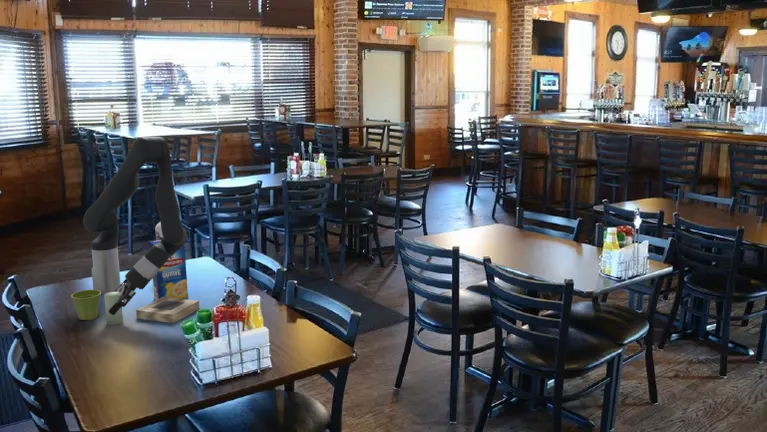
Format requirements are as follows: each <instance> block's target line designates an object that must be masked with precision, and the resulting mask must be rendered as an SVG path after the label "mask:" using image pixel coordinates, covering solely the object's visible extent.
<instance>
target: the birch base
mask: <svg viewBox="0 0 767 432" xmlns="http://www.w3.org/2000/svg"><path fill="white" fill-rule="evenodd" d="M198 310H200V301H199V300H194V299H187V298H184V299H178V298H169V297H162V298H160V299H158V300H156V299H155V301H152V302H150V303H148V304H146V305H144V306H142V307H139V308H137V309H136V310H135V313H136V319H138V318H139V320H146V319H148V321H155V322H162V323H163V322H164V323H169V324H170V323H171V324H174V323H176V322H179V321H181V320H182V319H184V318H186V317H188V316H189V315H191V314H193V313H194V312H197V311H198Z"/></svg>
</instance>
